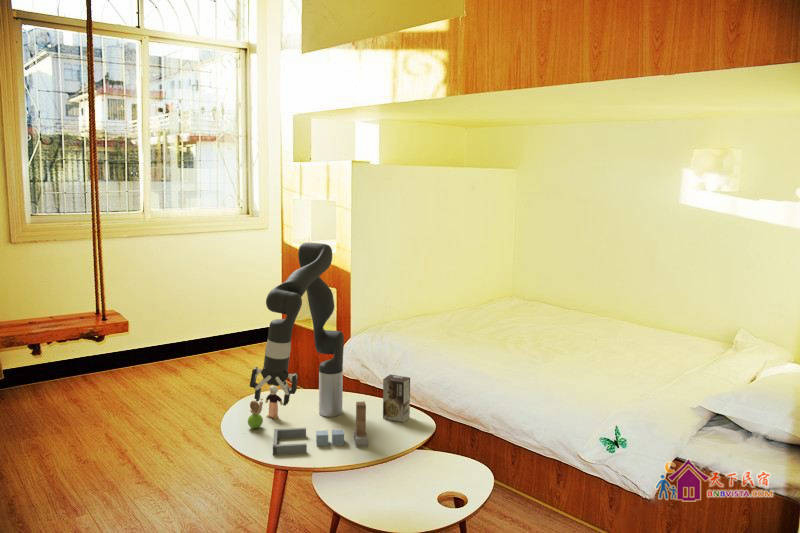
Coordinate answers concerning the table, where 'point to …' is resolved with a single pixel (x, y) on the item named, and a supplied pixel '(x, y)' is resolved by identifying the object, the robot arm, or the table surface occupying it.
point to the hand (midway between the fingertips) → (271, 402)
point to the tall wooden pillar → (360, 425)
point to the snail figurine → (255, 414)
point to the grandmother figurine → (273, 402)
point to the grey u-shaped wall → (289, 447)
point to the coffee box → (396, 398)
